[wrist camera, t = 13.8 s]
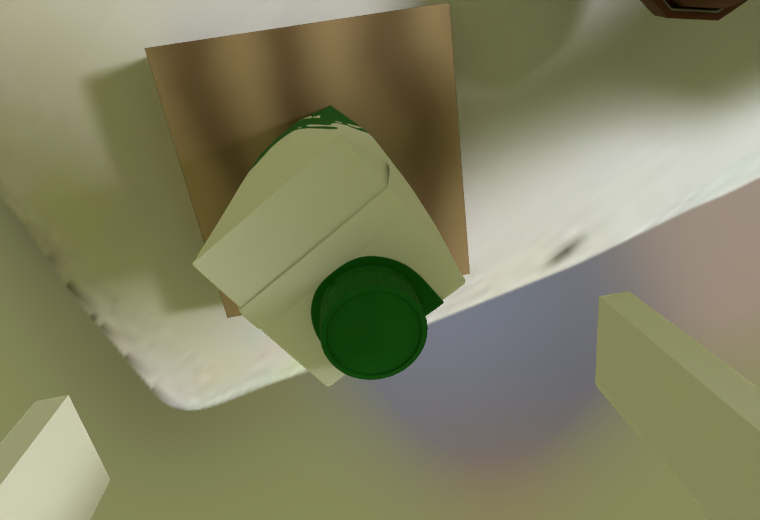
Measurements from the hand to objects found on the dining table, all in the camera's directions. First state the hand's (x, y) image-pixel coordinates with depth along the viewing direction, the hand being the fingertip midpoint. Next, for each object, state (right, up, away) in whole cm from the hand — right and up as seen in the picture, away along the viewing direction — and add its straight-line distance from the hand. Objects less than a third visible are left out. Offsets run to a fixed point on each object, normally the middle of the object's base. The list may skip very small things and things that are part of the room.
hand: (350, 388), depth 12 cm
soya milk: (-3, +10, +23) cm, 25 cm away
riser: (-4, +11, +28) cm, 30 cm away
